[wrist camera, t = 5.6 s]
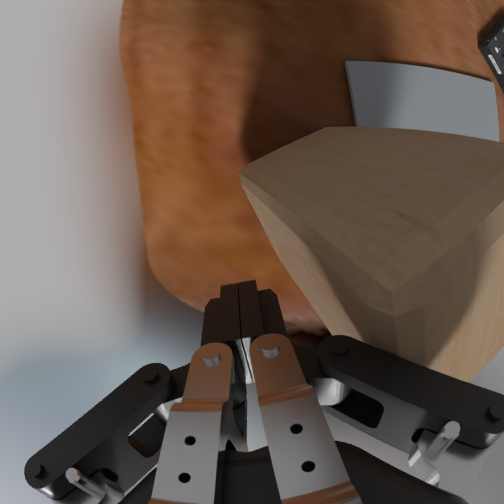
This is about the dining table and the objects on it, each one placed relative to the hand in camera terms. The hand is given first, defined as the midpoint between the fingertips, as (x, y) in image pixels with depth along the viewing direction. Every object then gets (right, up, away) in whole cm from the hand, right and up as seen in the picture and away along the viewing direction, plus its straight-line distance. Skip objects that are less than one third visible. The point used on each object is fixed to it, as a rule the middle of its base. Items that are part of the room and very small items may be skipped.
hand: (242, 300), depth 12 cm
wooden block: (+5, +7, +13) cm, 16 cm away
